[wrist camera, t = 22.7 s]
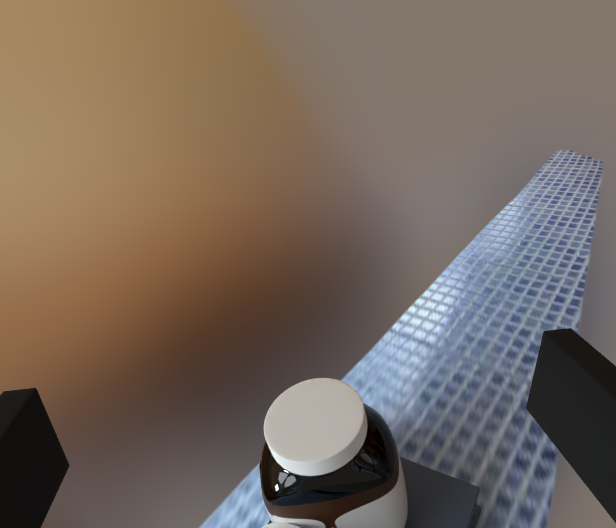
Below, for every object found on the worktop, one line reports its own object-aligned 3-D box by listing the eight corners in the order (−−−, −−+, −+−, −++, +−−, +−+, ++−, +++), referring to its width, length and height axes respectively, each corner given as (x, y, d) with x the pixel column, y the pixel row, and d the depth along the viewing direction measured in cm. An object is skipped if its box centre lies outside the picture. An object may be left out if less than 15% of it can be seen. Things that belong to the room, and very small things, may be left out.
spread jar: (397, 459, 36) (376, 359, 31) (441, 618, 26) (421, 512, 21) (263, 487, 37) (219, 394, 32) (257, 652, 27) (191, 558, 22)
